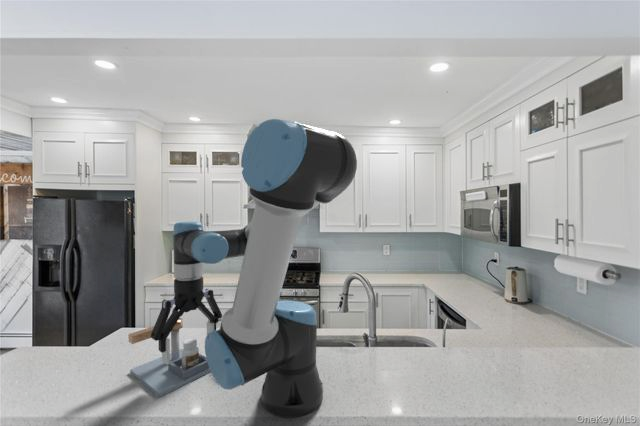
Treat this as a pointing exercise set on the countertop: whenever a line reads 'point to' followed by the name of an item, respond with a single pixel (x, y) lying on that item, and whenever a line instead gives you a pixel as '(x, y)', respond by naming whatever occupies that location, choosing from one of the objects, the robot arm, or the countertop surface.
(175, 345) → the board
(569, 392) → the countertop surface
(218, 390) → the countertop surface
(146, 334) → the lever
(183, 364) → the pill bottle
